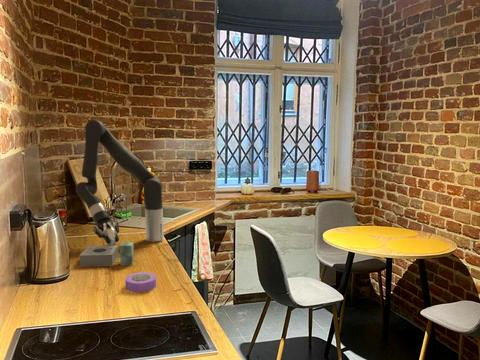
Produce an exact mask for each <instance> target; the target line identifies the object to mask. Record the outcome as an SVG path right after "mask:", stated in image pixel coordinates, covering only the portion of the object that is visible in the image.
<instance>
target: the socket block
mask: <svg viewBox="0 0 480 360" xmlns="http://www.w3.org/2000/svg"><path fill="white" fill-rule="evenodd" d="M118 258H119V245H116V246H107V245H87V246H86V248H85V249H83V251H82V252H81V253H80V254H79V267H107V266H108V267H113V266H114V265H115V262H116V261H117V259H118Z"/></svg>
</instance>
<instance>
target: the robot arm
mask: <svg viewBox="0 0 480 360" xmlns="http://www.w3.org/2000/svg"><path fill="white" fill-rule="evenodd" d="M84 130H85V131H84V132H85V133H84V134H85V135H84V136H85V137H84V138H85V143H84V145H85V147H84V155H83V162H82V169H81V176H82V177H83V178H85V179H86V180H87V182H86V181H84V182H83V181H81V182H78V183H77V184H76V186H75V192H76V194H77V196H78V197H79V198H80V199H81V200H82V202H84V203H85V205H86V207H87V209H88V210H89V211H88V212H89V214H90V216H91V218H92V219H93V222H94V223H95V225H96V226H94V227H93V228H92V231H93V232H94V234H95V235H96V236H97V237H98V238H99V239H101V238H102V239H104V241H105V244H107V243H108V244H110V243H111V241H110V239H109V237H108V236H107V228H115V239H116V243H118V242H119V240H120V236H118V234H119V232H120V225H119V222H118V221H116V222H113V221H112V220H111V217H110V214H109V213H108V211H107V208H105V206H104V205H103V203H102V201H101V199H100V197H99V196H98V195H96V194H97V192H98V182H97V170H98V161H99V160H98V157H99V155H98V153H99V152H98V150H99V144H101V145H102V146H103V147H104V148H105V150H106V151H107V152H108V154H109V156H111V158H112V159H113V161H114V162H115V163H116V164H118V165H119V167H121V169H122V170H124V171H125V172H126V173H128V174H129V175H131V176H133V177H134V178H136V179H137V180H138V181H139V182H140V183H141V185H143V203H144V219H145V220H144V223H145V229H144V230H145V241H146V242H150V243H151V242H153V243H155V242H162V241H164V233H165V232H164V218H163V217H164V216H163V215H164V214H163V211H164V210H163V199H162V197H163V196H162V194H163V192H162V190H163V182H162V181H161V180H160V179H159V178H158V177H157V176H156V175H154V174H153V173H151V171H149V170H148V169H147V168H146V166H145V165H144V164H143V163H142V162H141V161H140V160H139V159H138V158H137V156H135V154H134V153H133V152H132V151H131V150H130V149H129V148H128V147H126V146H125V144H123V143H122V142H121V141H119V140H118V139H117V138H116V137H115V136H114V135H113V134H112V133H111V132H110V131H109V129H108V127H106V125H105V124H104V123H103V122H102V121H100V120H97V119H90V120H89V121H87V123H86V124H85V126H84Z"/></svg>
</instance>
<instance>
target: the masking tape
mask: <svg viewBox="0 0 480 360" xmlns="http://www.w3.org/2000/svg"><path fill="white" fill-rule="evenodd" d="M124 283H125V290H126V289H127V290H126V291H128V290H129V291H128V292H131V291H132V293H144V292H145V291H146V292H149V290H150V291H151V290H153V289H155V288H156V287H157V276H156V275H155V273H151V272H145V271H144V272H135V273H131V274H129V275H127V276H126V277H125V282H124Z"/></svg>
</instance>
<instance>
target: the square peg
mask: <svg viewBox="0 0 480 360" xmlns="http://www.w3.org/2000/svg"><path fill="white" fill-rule="evenodd" d="M119 251H120V252H119V253H120V256H119V257H120V266H132V265H133V264H134V262H135V261H134V260H135V259H134V258H135V257H134V256H135V255H134V254H135V253H134V242H133V241H131V242H130V241H129V242H126V241H125V242H121V244H120V245H119Z"/></svg>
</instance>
